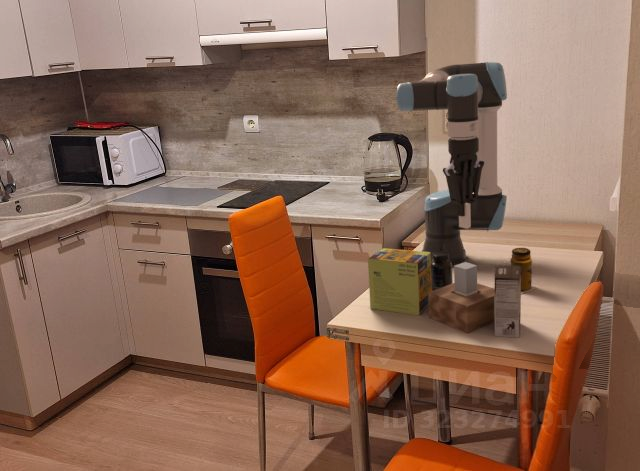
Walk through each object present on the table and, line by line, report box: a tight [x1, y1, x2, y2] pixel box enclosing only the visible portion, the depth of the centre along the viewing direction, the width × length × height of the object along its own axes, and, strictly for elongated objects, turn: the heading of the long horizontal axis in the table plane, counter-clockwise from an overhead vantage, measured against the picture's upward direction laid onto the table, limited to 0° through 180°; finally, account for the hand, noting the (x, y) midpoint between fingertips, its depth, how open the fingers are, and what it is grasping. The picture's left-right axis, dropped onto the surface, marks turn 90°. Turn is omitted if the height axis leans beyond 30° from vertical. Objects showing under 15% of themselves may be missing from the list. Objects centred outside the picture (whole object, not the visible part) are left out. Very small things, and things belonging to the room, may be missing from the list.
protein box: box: [367, 247, 432, 316], centre depth 191 cm, size 10×15×16 cm
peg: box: [453, 261, 478, 298], centre depth 180 cm, size 4×4×14 cm
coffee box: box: [493, 264, 522, 338], centre depth 171 cm, size 9×6×16 cm
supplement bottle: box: [431, 251, 454, 291], centre depth 200 cm, size 7×7×12 cm
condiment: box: [509, 247, 539, 295], centre depth 198 cm, size 7×8×12 cm
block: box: [428, 282, 495, 334], centre depth 181 cm, size 14×14×8 cm
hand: (464, 227), depth 175 cm, fingers closed
